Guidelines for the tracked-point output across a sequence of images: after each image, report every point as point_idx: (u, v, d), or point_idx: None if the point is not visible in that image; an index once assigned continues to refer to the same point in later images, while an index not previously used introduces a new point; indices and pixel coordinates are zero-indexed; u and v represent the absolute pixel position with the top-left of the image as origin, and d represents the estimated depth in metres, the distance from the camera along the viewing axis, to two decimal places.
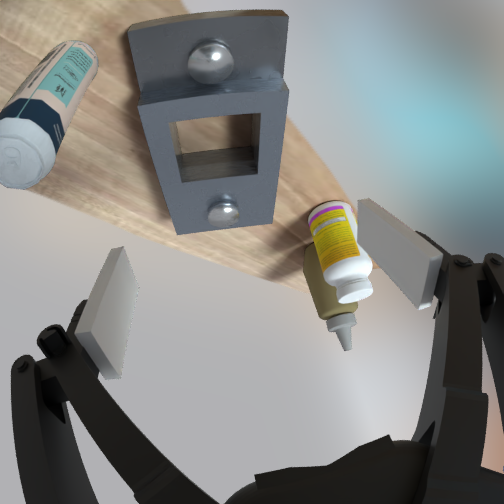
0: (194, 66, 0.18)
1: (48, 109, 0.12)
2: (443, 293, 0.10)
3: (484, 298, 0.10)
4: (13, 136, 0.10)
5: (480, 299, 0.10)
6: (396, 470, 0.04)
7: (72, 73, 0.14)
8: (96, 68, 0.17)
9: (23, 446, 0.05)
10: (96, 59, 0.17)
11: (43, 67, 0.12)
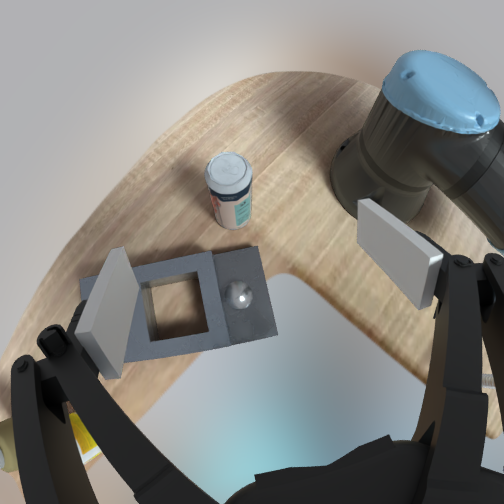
0: (236, 285, 0.35)
1: (242, 195, 0.31)
2: (443, 293, 0.10)
3: (484, 298, 0.10)
4: (245, 174, 0.29)
5: (480, 299, 0.10)
6: (397, 471, 0.04)
7: (243, 212, 0.35)
8: (230, 228, 0.39)
9: (23, 446, 0.05)
10: (235, 228, 0.39)
11: (251, 195, 0.35)
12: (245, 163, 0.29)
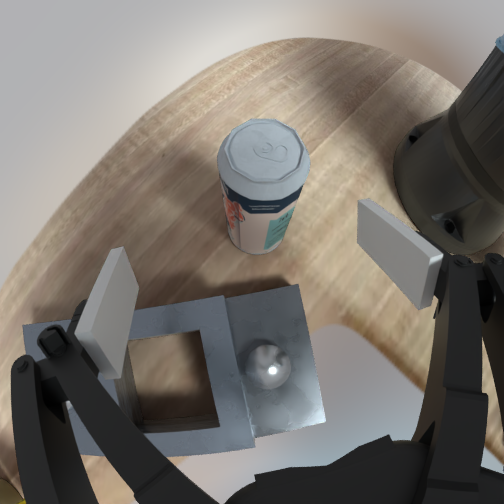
0: (265, 351, 0.20)
1: (289, 203, 0.16)
2: (443, 293, 0.10)
3: (484, 298, 0.10)
4: (300, 161, 0.14)
5: (480, 299, 0.10)
6: (396, 470, 0.04)
7: (279, 230, 0.20)
8: (252, 252, 0.24)
9: (23, 446, 0.05)
10: (260, 252, 0.24)
11: None
12: (299, 141, 0.14)
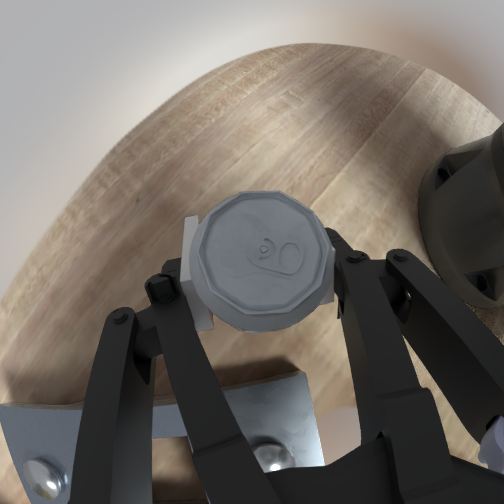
0: (266, 453, 0.15)
1: None
2: (342, 293, 0.12)
3: (388, 296, 0.11)
4: (321, 270, 0.09)
5: None
6: (396, 470, 0.04)
7: None
8: (248, 332, 0.19)
9: (94, 400, 0.07)
10: None
11: None
12: (319, 232, 0.09)
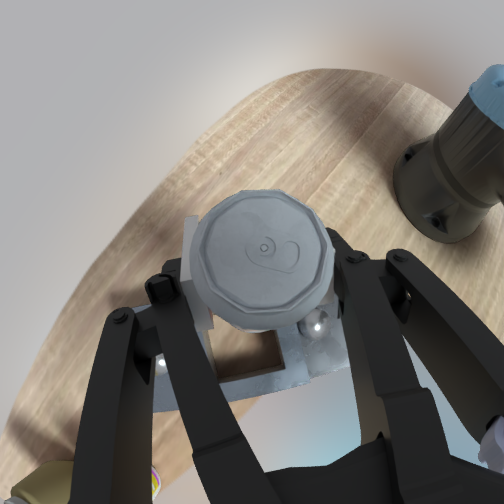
0: (313, 313, 0.29)
1: None
2: (342, 293, 0.12)
3: (388, 296, 0.11)
4: (321, 269, 0.09)
5: None
6: None
7: None
8: (248, 331, 0.19)
9: (94, 400, 0.07)
10: (259, 330, 0.19)
11: None
12: (319, 231, 0.09)
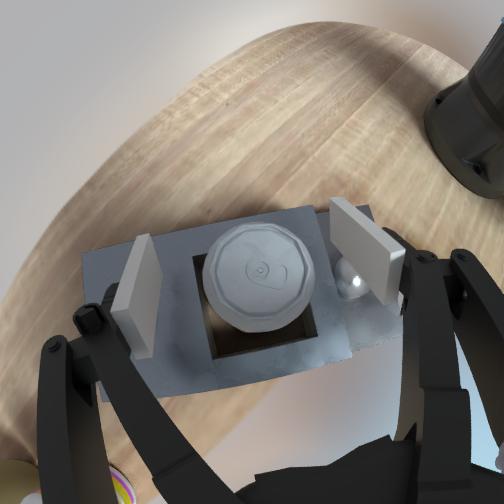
0: None
1: None
2: (408, 290, 0.11)
3: (451, 294, 0.10)
4: (303, 286, 0.12)
5: (447, 295, 0.10)
6: (396, 470, 0.04)
7: None
8: (248, 331, 0.22)
9: (45, 427, 0.06)
10: None
11: None
12: (303, 257, 0.12)
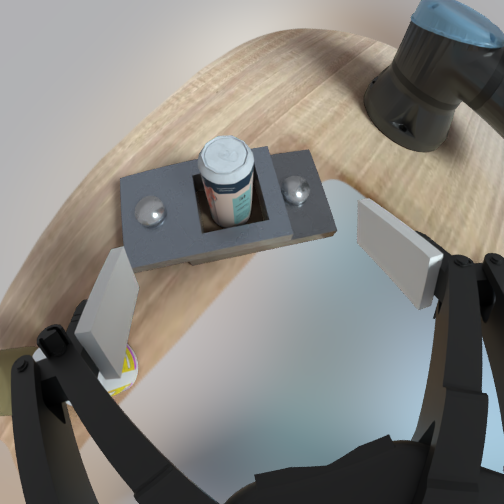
0: (293, 179, 0.33)
1: (242, 186, 0.26)
2: (443, 293, 0.10)
3: (484, 298, 0.10)
4: (245, 160, 0.24)
5: (480, 299, 0.10)
6: (397, 470, 0.04)
7: (242, 207, 0.30)
8: (227, 226, 0.34)
9: (23, 446, 0.05)
10: (233, 226, 0.34)
11: None
12: (246, 148, 0.24)
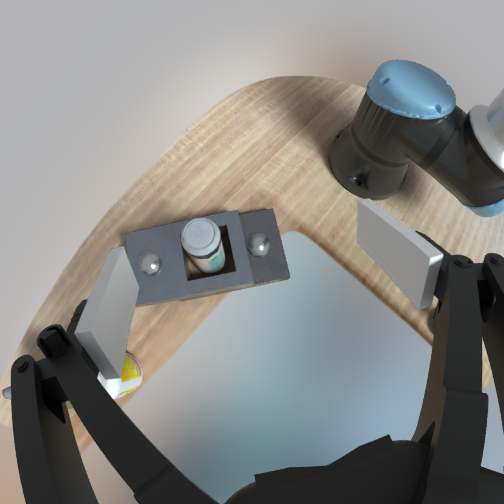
0: (257, 236, 0.44)
1: (213, 254, 0.37)
2: (443, 293, 0.10)
3: (484, 298, 0.10)
4: (213, 239, 0.35)
5: (480, 299, 0.10)
6: (396, 470, 0.04)
7: (216, 263, 0.41)
8: (207, 272, 0.45)
9: (23, 446, 0.05)
10: (211, 272, 0.45)
11: (223, 248, 0.41)
12: (214, 229, 0.35)
